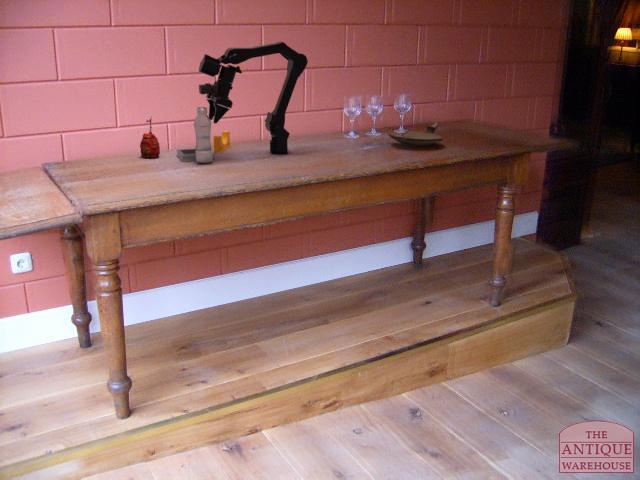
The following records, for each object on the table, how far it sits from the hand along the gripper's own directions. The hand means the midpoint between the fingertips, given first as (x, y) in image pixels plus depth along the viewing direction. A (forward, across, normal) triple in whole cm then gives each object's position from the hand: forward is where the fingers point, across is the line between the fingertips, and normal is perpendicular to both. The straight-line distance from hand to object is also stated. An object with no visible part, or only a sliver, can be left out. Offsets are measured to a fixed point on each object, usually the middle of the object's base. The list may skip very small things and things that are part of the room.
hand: (212, 121), depth 248 cm
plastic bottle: (+15, +10, 0) cm, 18 cm away
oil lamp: (-18, +2, +88) cm, 89 cm away
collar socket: (+15, 0, -2) cm, 15 cm away
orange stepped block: (+11, -13, +10) cm, 20 cm away
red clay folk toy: (+21, -6, -17) cm, 27 cm away
